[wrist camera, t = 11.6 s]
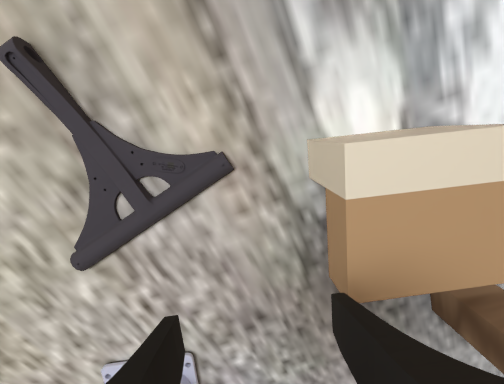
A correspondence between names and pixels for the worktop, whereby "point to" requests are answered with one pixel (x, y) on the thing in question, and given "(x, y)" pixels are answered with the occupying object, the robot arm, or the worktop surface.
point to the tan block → (413, 209)
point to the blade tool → (475, 318)
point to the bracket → (113, 165)
